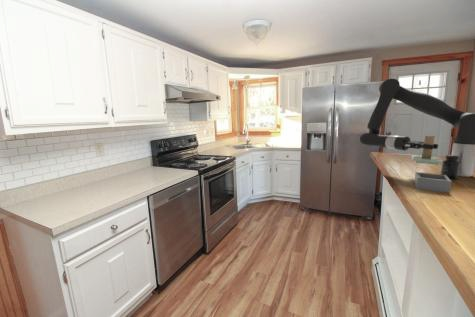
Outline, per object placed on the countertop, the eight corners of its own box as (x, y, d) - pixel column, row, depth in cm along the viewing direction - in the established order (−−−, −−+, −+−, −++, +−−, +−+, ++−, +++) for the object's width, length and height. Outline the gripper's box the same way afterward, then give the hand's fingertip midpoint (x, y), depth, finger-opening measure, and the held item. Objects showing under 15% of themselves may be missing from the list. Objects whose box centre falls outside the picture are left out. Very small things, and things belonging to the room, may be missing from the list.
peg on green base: (411, 158, 122) (414, 134, 120) (438, 161, 116) (442, 135, 114) (412, 162, 113) (416, 136, 111) (442, 165, 107) (447, 137, 105)
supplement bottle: (461, 180, 116) (465, 157, 114) (445, 179, 117) (449, 156, 115) (451, 176, 123) (455, 154, 120) (436, 176, 124) (440, 154, 122)
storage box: (413, 184, 111) (415, 172, 110) (443, 187, 105) (446, 175, 104) (416, 190, 102) (417, 177, 101) (449, 195, 96) (451, 181, 95)
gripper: (390, 136, 122) (429, 140, 107) (405, 135, 128) (444, 138, 113) (388, 150, 123) (426, 155, 108) (403, 148, 130) (441, 153, 114)
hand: (435, 146), depth 111 cm, fingers closed on peg on green base, 3 cm apart
